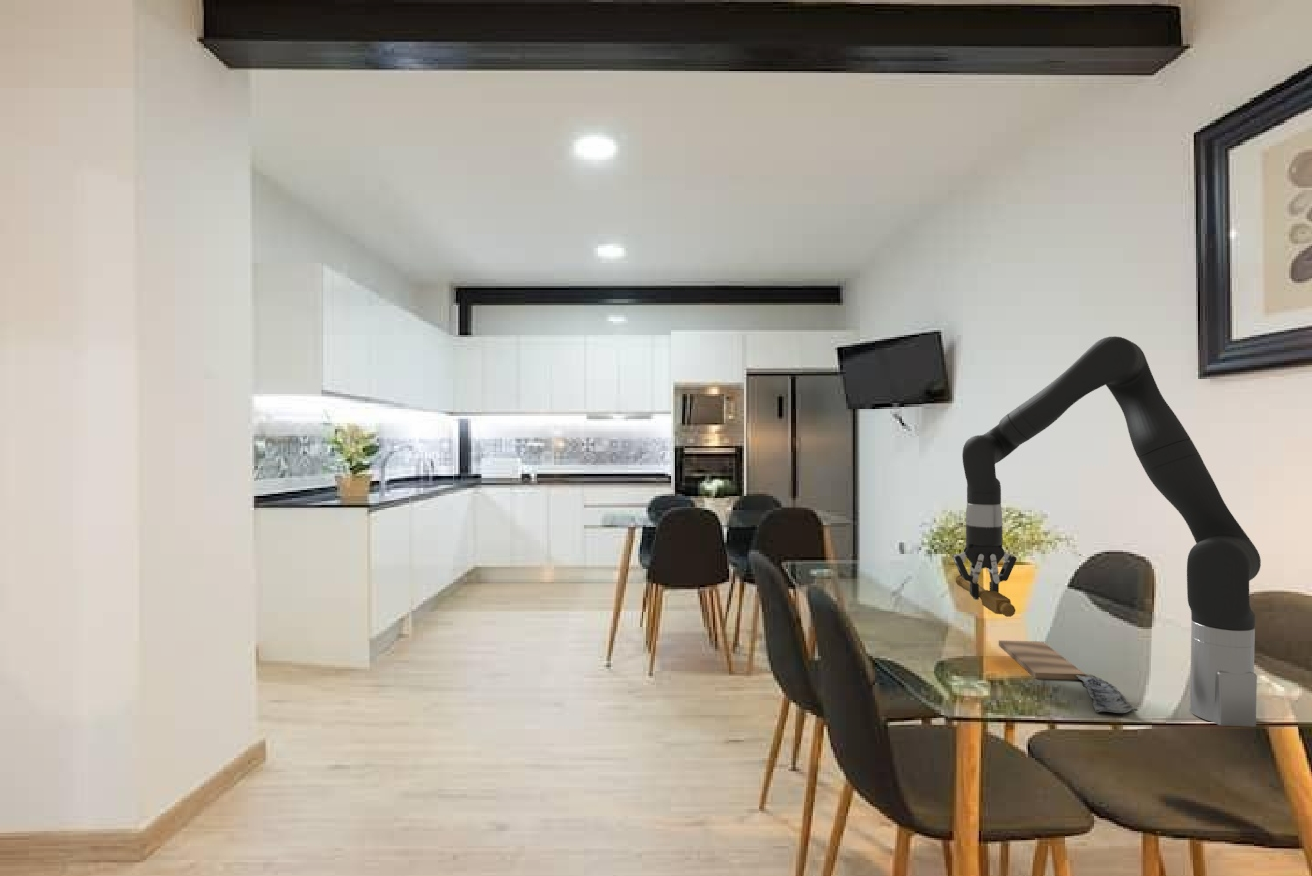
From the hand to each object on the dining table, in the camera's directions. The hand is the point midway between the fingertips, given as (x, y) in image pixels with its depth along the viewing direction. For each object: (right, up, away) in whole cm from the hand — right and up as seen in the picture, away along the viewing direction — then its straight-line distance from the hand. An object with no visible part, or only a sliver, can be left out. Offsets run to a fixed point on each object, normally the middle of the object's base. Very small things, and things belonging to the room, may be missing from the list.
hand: (984, 598), depth 165 cm
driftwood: (+14, -15, -21) cm, 29 cm away
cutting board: (+12, -14, -1) cm, 18 cm away
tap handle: (0, -1, 0) cm, 1 cm away
